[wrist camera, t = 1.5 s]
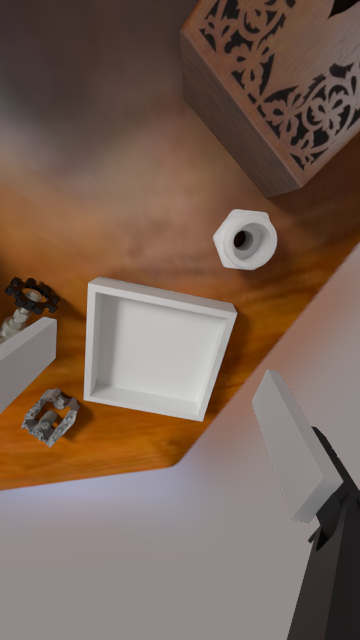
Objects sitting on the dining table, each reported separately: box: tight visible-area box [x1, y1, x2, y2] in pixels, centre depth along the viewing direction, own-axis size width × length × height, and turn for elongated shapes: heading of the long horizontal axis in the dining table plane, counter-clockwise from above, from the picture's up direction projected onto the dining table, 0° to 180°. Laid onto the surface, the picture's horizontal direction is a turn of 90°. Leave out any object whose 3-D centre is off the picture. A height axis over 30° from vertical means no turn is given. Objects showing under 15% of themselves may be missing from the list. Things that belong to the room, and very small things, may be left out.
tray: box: [84, 276, 237, 421], centre depth 36 cm, size 20×20×4 cm
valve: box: [0, 277, 60, 345], centre depth 34 cm, size 7×7×12 cm
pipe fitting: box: [213, 209, 277, 270], centre depth 27 cm, size 6×7×8 cm
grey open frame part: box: [22, 388, 80, 447], centre depth 43 cm, size 11×8×4 cm
